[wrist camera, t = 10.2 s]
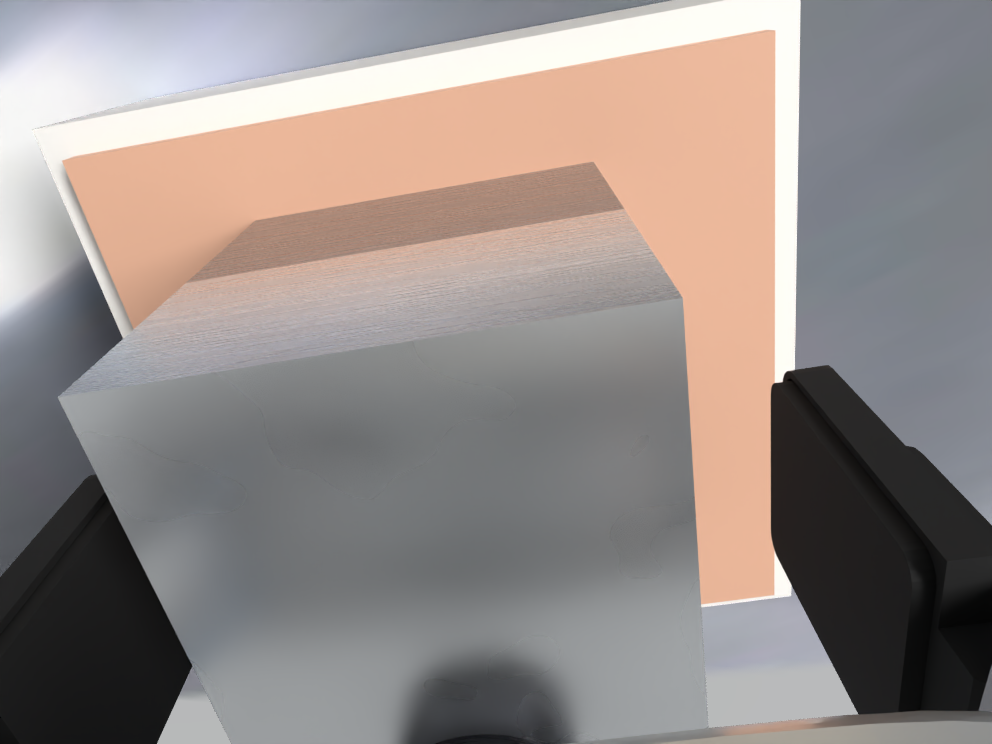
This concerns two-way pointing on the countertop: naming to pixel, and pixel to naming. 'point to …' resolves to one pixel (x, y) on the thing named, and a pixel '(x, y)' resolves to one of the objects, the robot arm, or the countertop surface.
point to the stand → (501, 153)
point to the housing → (419, 471)
